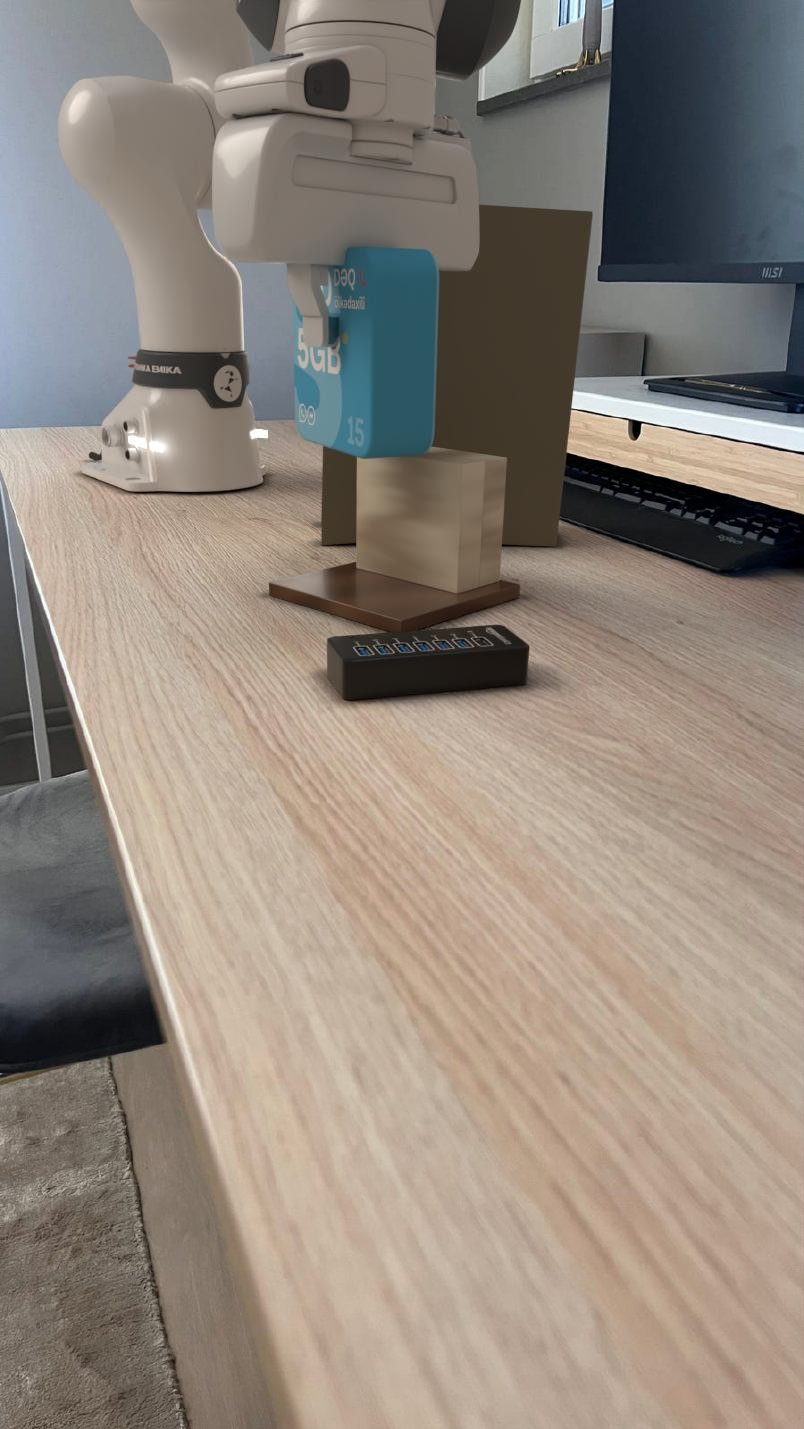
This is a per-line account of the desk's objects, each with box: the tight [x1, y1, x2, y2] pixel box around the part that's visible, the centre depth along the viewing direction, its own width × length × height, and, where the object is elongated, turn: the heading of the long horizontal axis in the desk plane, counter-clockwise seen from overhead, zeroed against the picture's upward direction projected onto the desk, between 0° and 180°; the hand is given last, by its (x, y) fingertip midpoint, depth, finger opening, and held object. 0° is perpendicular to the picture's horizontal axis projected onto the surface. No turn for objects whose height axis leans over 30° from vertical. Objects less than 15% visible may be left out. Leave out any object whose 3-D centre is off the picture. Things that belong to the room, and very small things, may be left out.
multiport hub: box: [326, 624, 531, 701], centre depth 59 cm, size 4×11×2 cm, turn 107°
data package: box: [292, 247, 439, 459], centre depth 66 cm, size 12×4×12 cm, turn 28°
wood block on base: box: [268, 447, 521, 632], centre depth 74 cm, size 13×13×10 cm
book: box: [320, 204, 594, 548], centre depth 90 cm, size 22×9×28 cm, turn 94°
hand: (358, 346), depth 66 cm, fingers closed on data package, 5 cm apart
